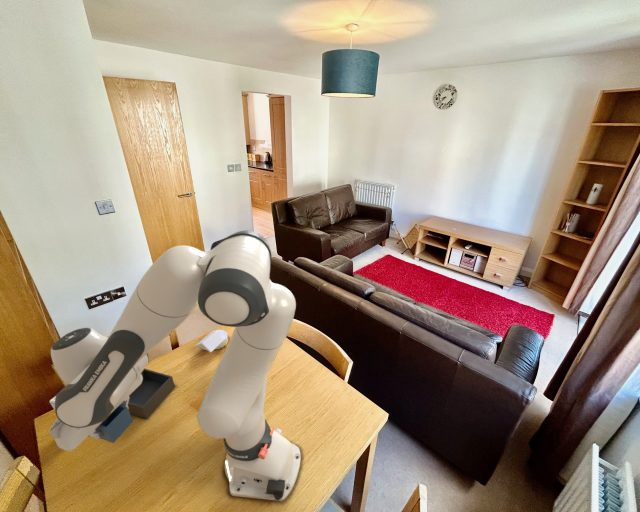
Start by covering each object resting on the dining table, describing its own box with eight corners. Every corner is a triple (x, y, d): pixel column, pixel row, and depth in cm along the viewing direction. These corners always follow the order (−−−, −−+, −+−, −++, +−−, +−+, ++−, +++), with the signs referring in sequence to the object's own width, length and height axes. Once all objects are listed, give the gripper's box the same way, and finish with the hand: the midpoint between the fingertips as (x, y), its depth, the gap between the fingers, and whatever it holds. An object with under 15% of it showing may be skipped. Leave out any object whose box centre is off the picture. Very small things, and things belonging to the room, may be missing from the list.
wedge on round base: (212, 358, 117) (232, 338, 128) (209, 346, 114) (230, 327, 125) (196, 351, 120) (217, 333, 131) (193, 339, 117) (215, 321, 128)
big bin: (175, 386, 104) (172, 376, 101) (146, 418, 92) (142, 408, 90) (146, 378, 107) (143, 368, 104) (115, 408, 95) (111, 397, 93)
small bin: (133, 421, 75) (127, 407, 73) (113, 443, 70) (106, 428, 67) (116, 415, 77) (109, 401, 74) (95, 436, 71) (87, 422, 69)
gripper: (57, 432, 57) (81, 469, 62) (140, 359, 74) (152, 393, 80) (35, 423, 58) (60, 461, 64) (121, 354, 76) (134, 388, 82)
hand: (112, 423), depth 72 cm, fingers closed on small bin, 6 cm apart
